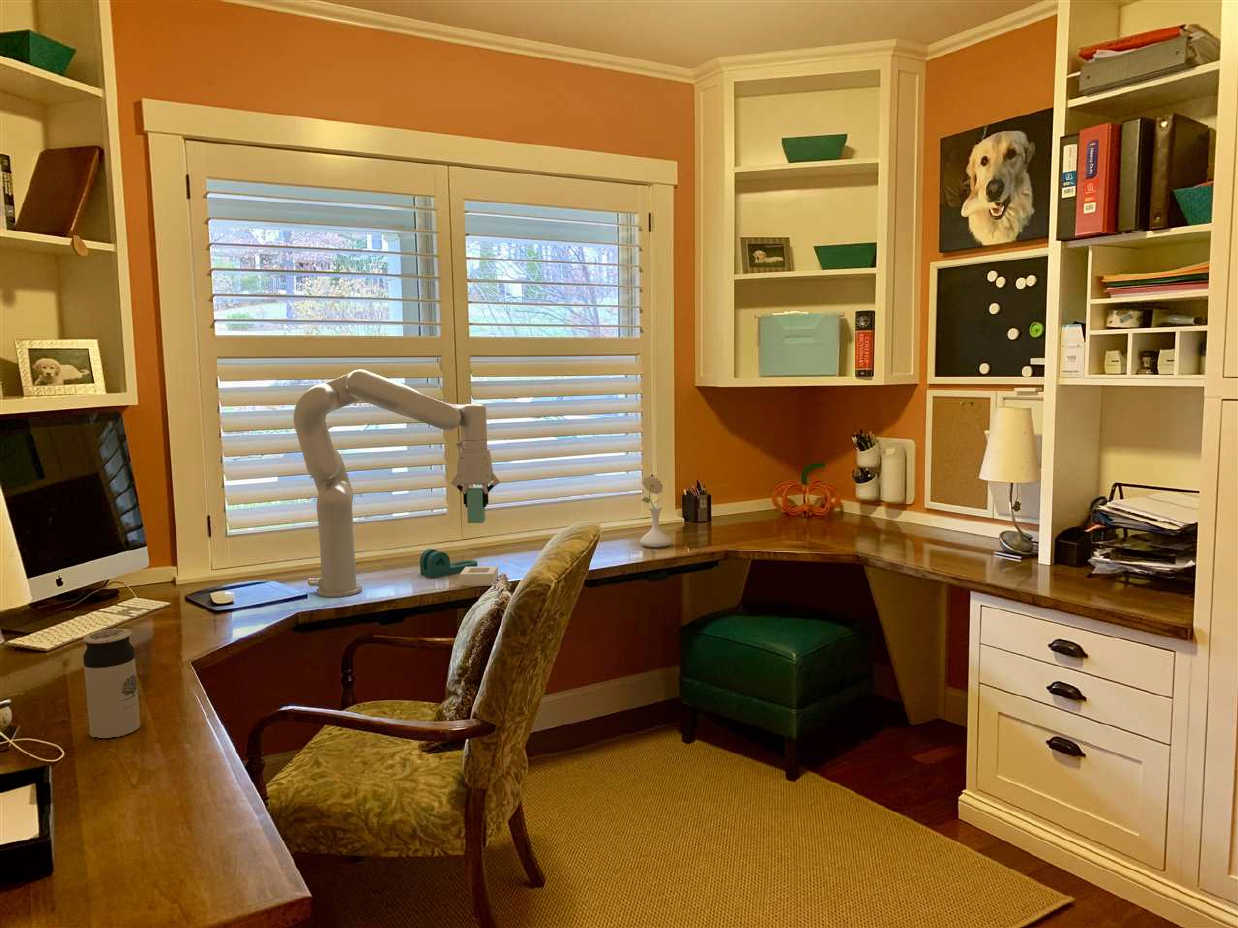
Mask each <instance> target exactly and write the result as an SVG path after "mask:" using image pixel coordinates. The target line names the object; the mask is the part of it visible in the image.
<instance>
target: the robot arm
mask: <svg viewBox="0 0 1238 928" xmlns="http://www.w3.org/2000/svg"><path fill="white" fill-rule="evenodd" d="M360 401H361V402H363V403H366V404H370V405H372V406H375V407H378V408H381V409H383V410H387V411H389V412H392V413H395V414H396V415H399V416H402V417H406V418H410V419H413V420H415V421H418V422H420V423H424V424H427V425H429V426H431V427H434V428H438V429H440V430H443V431H453V430H456V429H457V428H460V436H461V440H460V441H457V442H456V447H459V448H460V449H461V450H458V455H457V464H456V475H455V476H454V478H453V479H452V481H451V482H450V483H451V486H453V487H455V488H456V489H457V490H459V491H460V492H461V494H462V495H463V496H462V497H463V505H465V508H467V489H468V488H470V485H481V487H483V490H484V492H483V507H485V508H486V507H487V506H488V504H489V492H491V491H492V490H493V489H494V488H495V487H496V486H498V485H499V484H500V480H499V478H498V477H497V475H496V474H495V473H494V471H493V461H492V455H491V450H490V449H488V434H487V433H488V431H487V430H488V429H487V427H488V425H487V421H488V420H487V408H486V407H487V406H485V405H484V404H482V403H466V404H456V403H447V402H444V401H442V400H438V399H435V398H433V397H431V396H428V395H426V394H423V393H422V392H420V391H417V390H415V389H413V388H412V387H410V386H408V385H405V384H403V383H400V382H397V381H394V380H392V379H388V378H386V377H383V376H381V375H378V374H375V373H374V372H373V373H372V372H371V371H368V370H366V369H355V370H352V372H351V371H350V372H349V373H347V374H344V375H342V376H339V377H337V378H335V379H332V380H329V381H327V382H324V383H320V384H316V385H313V386H312V387H310V388H309V389H308V390H307V391H305V392H304V393H303V394H302V396H301V397H300V398H299V399H298V401H297V403H296V405H295V407H294V411H293V424H294V428H295V429H294V430H295V433H296V436H297V439H298V442H299V448H300V449H301V453H302V456H303V459H304V463H305V467H306V471H307V473H308V474H309V475H310V477H312V479H313V480H314V481H313V482H314V484H315V487H316V490H317V493H318V495H317V497H316V514H317V523H318V524H317V525H318V526H317V527H318V539H319V540H318V541H319V550H320V551H319V554H320V570H321V571H320V572H321V576H320V577H318V578H313V577H312V578H308V579H307V584H308V586H309V587H318V588H317V589H316V595H318V596H320V597H326V598H336V597H337V598H338V597H346V596H351V595H355V594H359V593H361V592H362V590H363V586H362V584H360V583H357V572H356V553H355V552H356V550H355V537H354V536H355V535H354V522H353V521H354V519H353V500H354V491H353V487H352V484H351V481H350V479H349V476H348V472H347V470H346V466H345V463H344V461H343V458H342V455H341V453H340V452H339V451H338V450H337V449H336V448H335V447H334V445H333V441H332V439H331V434H330V432H329V429H328V426H327V423H326V422H327V421H326V418H327V415H328V414H330V413H332V412H334V411H336V410H339V409H341V408H344V407H347V406H349V405H352V404H355V403H357V402H360ZM492 481H493V482H492ZM491 482H492V483H491ZM490 483H491V484H490ZM489 484H490V485H489Z"/></svg>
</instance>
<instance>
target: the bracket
mask: <svg viewBox="0 0 1238 928" xmlns="http://www.w3.org/2000/svg"><path fill="white" fill-rule="evenodd" d="M419 564H420V565H419V570H420V573H419V574H420V575H421V576H423V577H426V578H429V579H435V578H441V577H445V576H451V574H452V575H456V574H460V573H461V572H462V571H463V569H464V568H465V567H478V561H477V560H470V559H469V560H466V559H465V560H459V561H453V562H451V559H450V557H449V554H447V553H446V552H444V551H441V550H437V549H433V548H428V549H425V550H424V551H423V552H422V553H421V555H420V557H419Z"/></svg>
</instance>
